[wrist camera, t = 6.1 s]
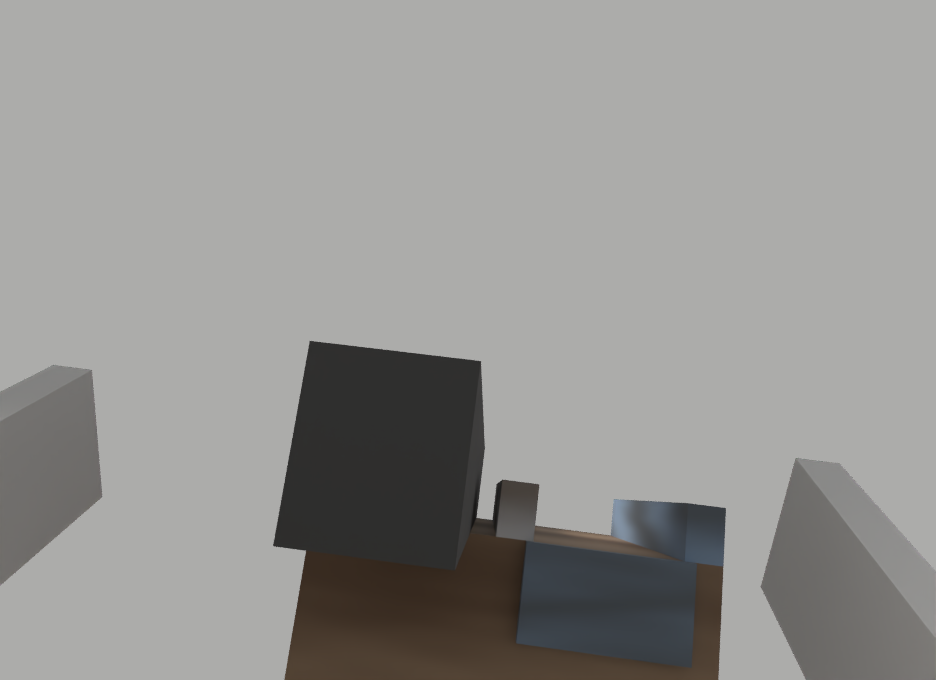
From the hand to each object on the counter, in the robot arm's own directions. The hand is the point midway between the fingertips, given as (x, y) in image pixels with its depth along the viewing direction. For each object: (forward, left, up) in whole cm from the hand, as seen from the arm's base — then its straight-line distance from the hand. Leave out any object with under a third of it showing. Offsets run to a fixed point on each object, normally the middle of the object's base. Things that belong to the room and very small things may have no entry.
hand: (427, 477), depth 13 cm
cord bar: (-2, +7, -1) cm, 8 cm away
